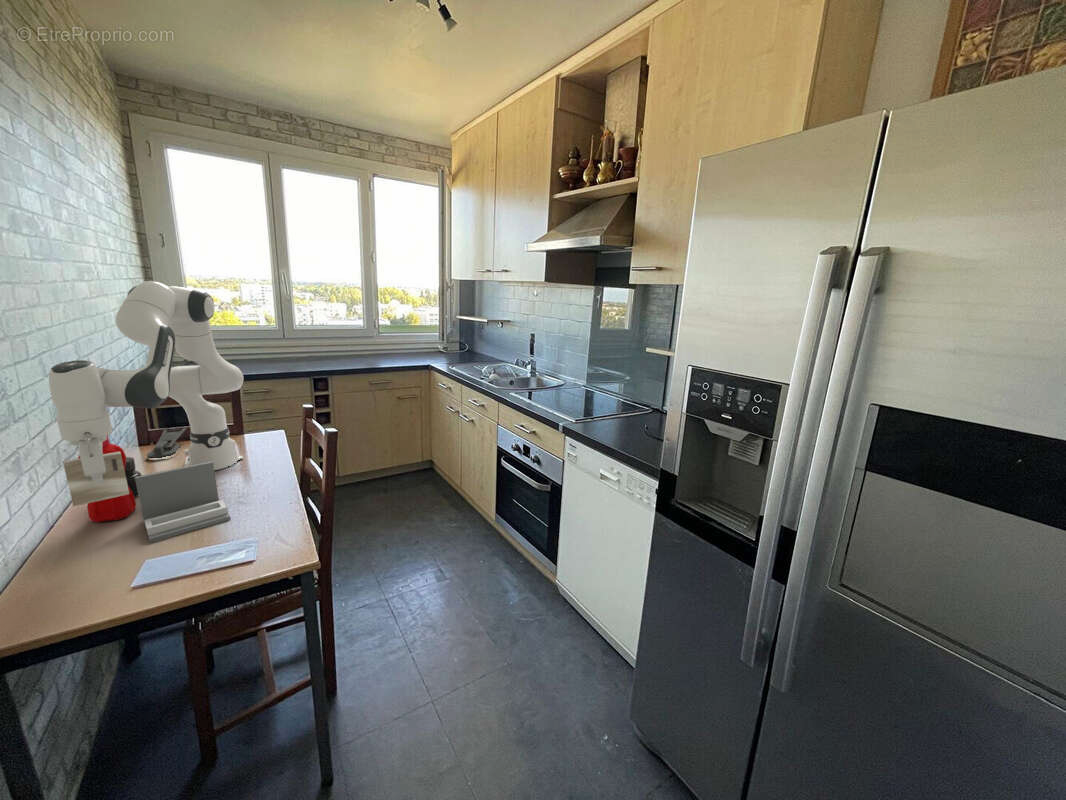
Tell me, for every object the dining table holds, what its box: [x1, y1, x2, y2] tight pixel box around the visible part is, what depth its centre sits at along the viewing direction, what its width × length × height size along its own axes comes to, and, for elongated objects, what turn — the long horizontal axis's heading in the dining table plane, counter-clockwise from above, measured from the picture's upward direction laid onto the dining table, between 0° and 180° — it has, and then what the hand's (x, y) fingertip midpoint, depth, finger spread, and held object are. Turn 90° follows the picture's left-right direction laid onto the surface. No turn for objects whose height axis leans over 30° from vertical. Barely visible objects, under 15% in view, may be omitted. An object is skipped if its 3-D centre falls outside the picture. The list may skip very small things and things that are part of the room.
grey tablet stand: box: [135, 461, 231, 544], centre depth 125 cm, size 16×18×14 cm
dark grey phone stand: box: [146, 426, 187, 459], centre depth 181 cm, size 9×7×25 cm
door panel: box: [62, 452, 129, 507], centre depth 107 cm, size 3×10×11 cm, turn 136°
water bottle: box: [77, 434, 137, 523], centre depth 125 cm, size 9×11×25 cm
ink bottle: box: [125, 456, 142, 498], centre depth 140 cm, size 10×9×12 cm
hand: (98, 481), depth 108 cm, fingers closed on door panel, 2 cm apart
